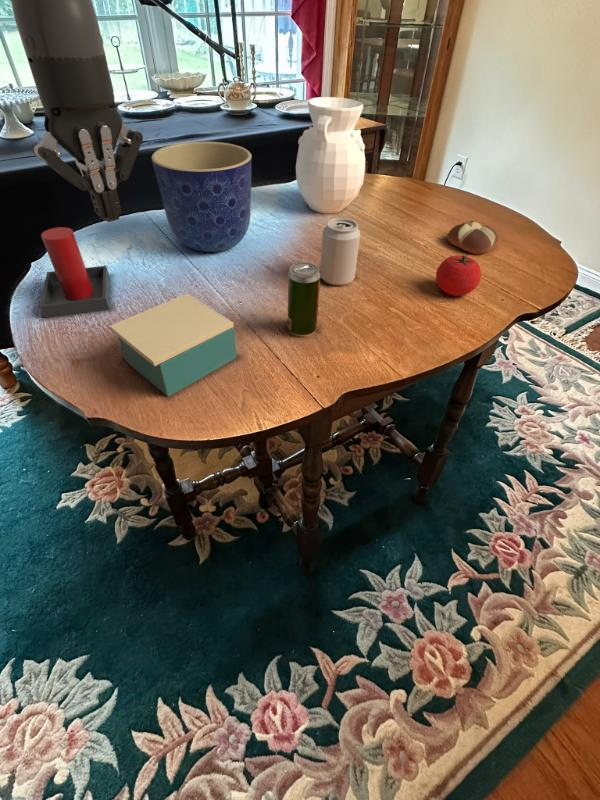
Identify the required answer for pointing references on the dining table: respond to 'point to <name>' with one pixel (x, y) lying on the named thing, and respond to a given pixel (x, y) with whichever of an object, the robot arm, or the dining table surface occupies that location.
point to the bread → (473, 237)
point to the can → (339, 251)
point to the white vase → (331, 155)
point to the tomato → (458, 275)
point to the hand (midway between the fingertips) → (110, 219)
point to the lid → (170, 328)
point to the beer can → (303, 298)
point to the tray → (61, 306)
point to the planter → (205, 193)
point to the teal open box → (184, 362)
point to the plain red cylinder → (67, 263)
